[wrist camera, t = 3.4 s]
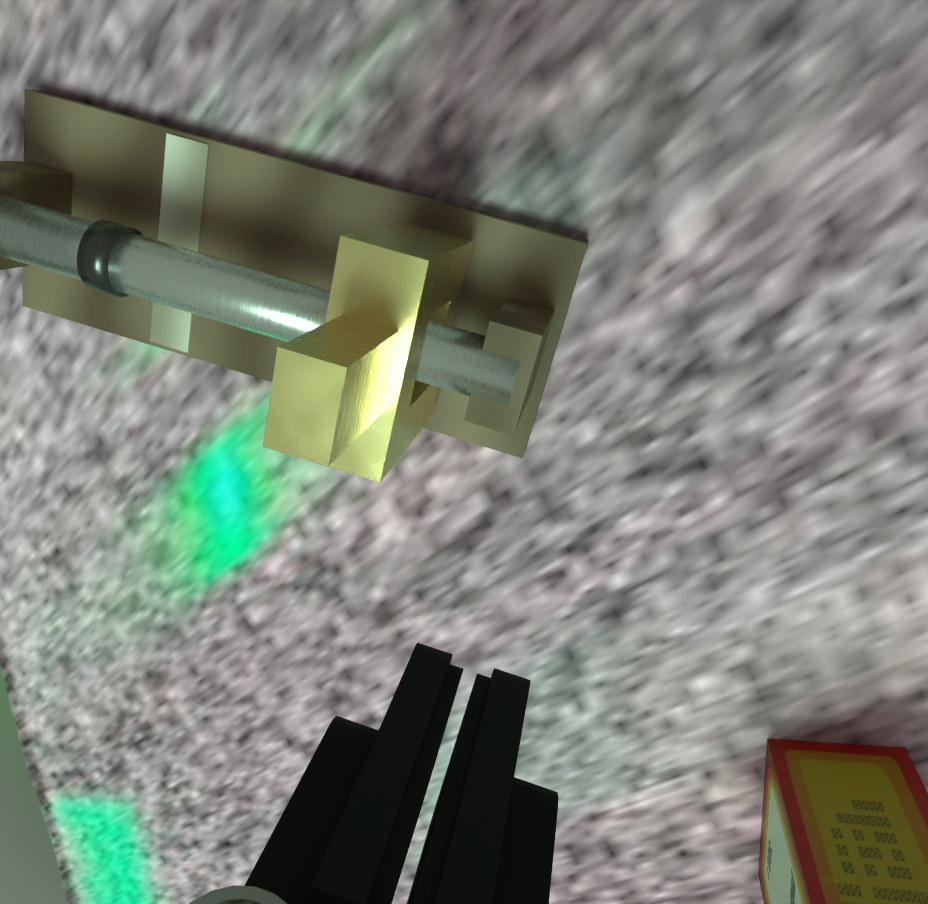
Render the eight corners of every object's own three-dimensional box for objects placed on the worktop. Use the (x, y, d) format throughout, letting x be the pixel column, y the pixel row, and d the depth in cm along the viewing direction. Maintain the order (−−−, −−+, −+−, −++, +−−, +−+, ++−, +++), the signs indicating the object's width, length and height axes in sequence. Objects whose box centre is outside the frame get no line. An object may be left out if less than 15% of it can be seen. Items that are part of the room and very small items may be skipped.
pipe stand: (588, 241, 32) (580, 257, 26) (525, 449, 36) (505, 507, 29) (44, 91, 34) (-85, 72, 28) (39, 301, 38) (-75, 326, 32)
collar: (473, 240, 31) (382, 281, 19) (430, 417, 34) (329, 546, 22) (405, 221, 31) (273, 249, 19) (368, 398, 34) (236, 516, 22)
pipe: (531, 335, 29) (522, 351, 26) (512, 401, 30) (502, 422, 28) (-15, 178, 31) (-72, 178, 29) (-14, 244, 32) (-69, 250, 30)
